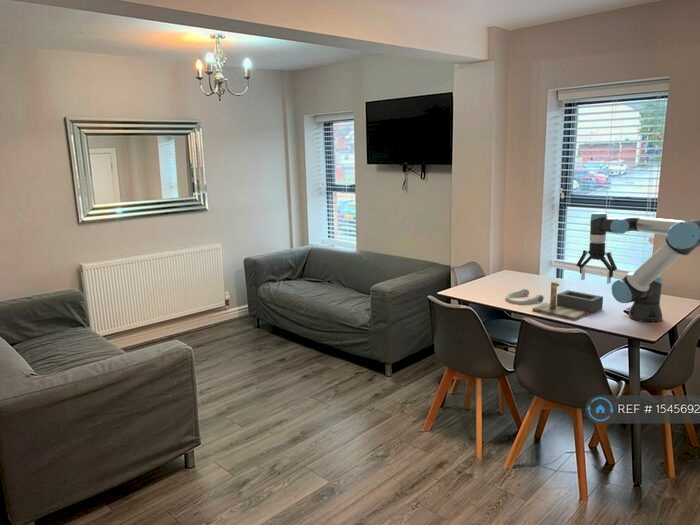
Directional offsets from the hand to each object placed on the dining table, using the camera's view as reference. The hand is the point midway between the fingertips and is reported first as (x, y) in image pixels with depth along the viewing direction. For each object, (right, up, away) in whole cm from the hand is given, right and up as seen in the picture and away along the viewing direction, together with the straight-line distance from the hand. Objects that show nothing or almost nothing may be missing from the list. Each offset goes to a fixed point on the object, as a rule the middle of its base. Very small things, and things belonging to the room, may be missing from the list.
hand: (595, 281), depth 278 cm
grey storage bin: (-4, -15, +10) cm, 19 cm away
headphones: (-30, -13, +28) cm, 43 cm away
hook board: (-18, -17, +3) cm, 25 cm away
